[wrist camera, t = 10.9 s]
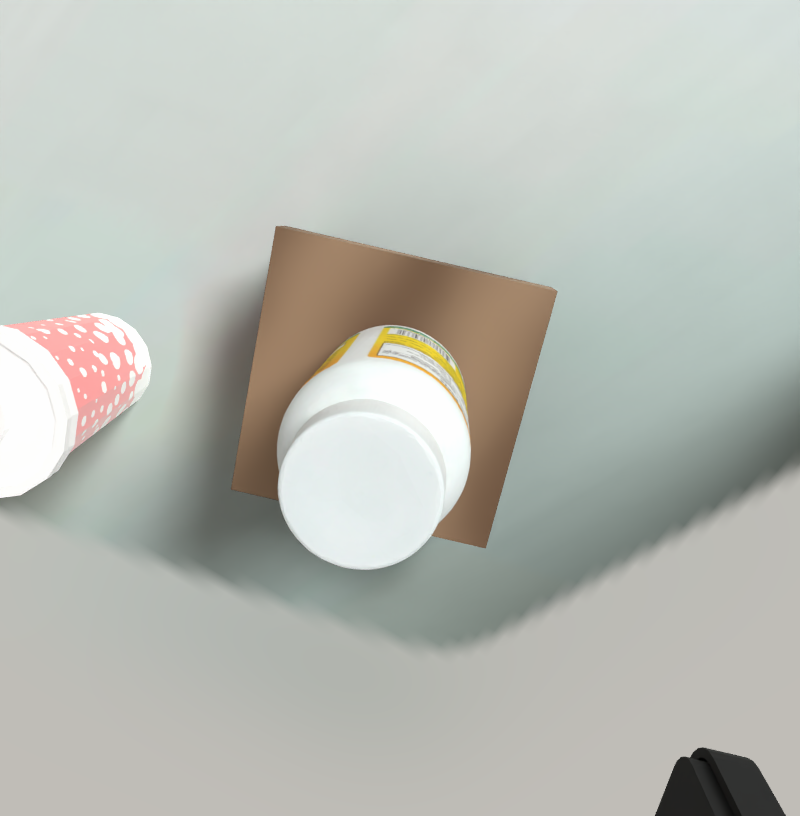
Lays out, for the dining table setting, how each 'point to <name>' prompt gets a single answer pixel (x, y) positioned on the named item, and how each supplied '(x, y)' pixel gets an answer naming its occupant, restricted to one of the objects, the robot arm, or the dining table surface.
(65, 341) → the beverage cup
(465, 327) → the footstool
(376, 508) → the supplement bottle
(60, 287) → the dining table surface
